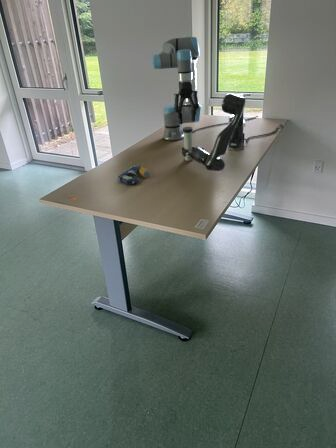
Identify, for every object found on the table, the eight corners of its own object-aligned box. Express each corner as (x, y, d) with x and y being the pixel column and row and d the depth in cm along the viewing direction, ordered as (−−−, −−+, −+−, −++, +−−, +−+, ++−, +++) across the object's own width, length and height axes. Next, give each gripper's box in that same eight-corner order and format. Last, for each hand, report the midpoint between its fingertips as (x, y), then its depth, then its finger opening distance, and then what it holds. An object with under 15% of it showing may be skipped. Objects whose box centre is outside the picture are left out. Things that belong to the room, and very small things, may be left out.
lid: (180, 132, 199) (180, 129, 198) (185, 129, 203) (185, 126, 202) (189, 133, 196) (189, 129, 195) (194, 130, 200) (194, 127, 199)
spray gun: (155, 171, 194) (133, 169, 200) (154, 165, 192) (132, 163, 198) (137, 187, 179) (114, 184, 185) (136, 180, 176) (112, 177, 183)
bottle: (183, 160, 208) (182, 129, 198) (187, 157, 211) (186, 127, 201) (190, 161, 205) (189, 130, 196) (194, 158, 209) (193, 128, 199)
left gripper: (197, 77, 191) (199, 118, 203) (165, 82, 184) (168, 124, 196) (204, 79, 185) (205, 120, 197) (171, 84, 178) (174, 127, 190)
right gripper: (210, 146, 194) (196, 139, 207) (188, 152, 189) (175, 144, 203) (210, 159, 198) (196, 151, 211) (189, 164, 193) (176, 156, 207)
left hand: (187, 122), depth 197 cm, fingers open, 8 cm apart
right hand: (186, 148), depth 207 cm, fingers closed on bottle, 4 cm apart
